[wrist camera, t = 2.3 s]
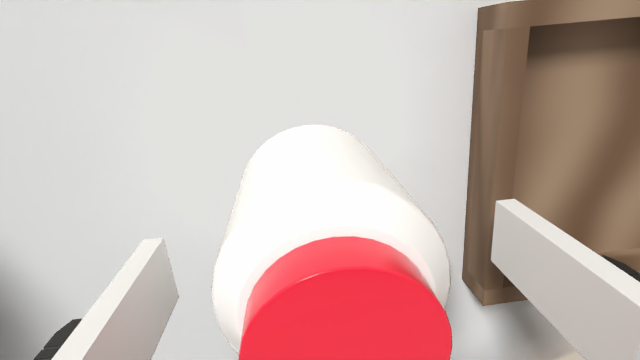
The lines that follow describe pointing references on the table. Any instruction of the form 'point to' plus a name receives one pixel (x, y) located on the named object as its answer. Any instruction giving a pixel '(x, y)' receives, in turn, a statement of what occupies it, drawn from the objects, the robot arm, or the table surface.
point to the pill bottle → (329, 258)
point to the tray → (555, 129)
